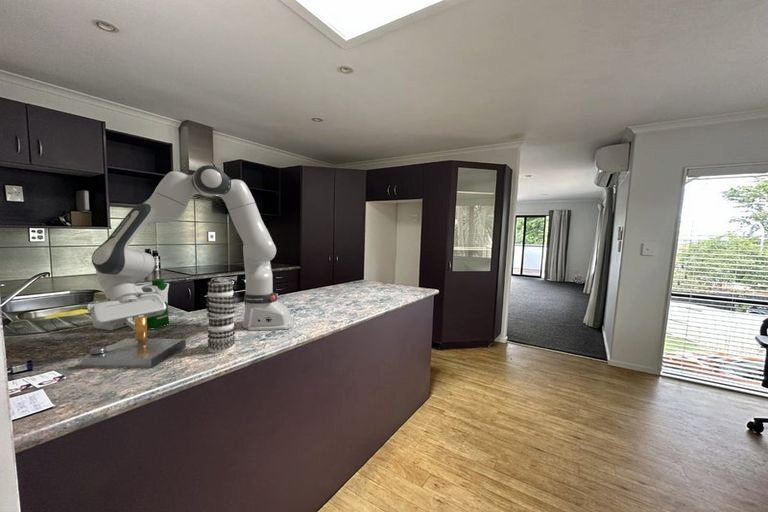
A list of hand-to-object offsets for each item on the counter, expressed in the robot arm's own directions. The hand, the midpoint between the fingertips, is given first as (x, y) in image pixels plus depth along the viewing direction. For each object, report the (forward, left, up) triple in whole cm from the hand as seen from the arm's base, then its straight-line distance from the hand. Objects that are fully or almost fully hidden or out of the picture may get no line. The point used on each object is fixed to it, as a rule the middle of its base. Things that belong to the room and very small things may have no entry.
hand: (139, 329), depth 104 cm
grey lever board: (-3, +5, -7) cm, 9 cm away
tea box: (+28, -28, -8) cm, 41 cm away
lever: (+1, +6, -4) cm, 7 cm away
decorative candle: (-26, -3, -8) cm, 27 cm away
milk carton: (+13, -26, -8) cm, 30 cm away
